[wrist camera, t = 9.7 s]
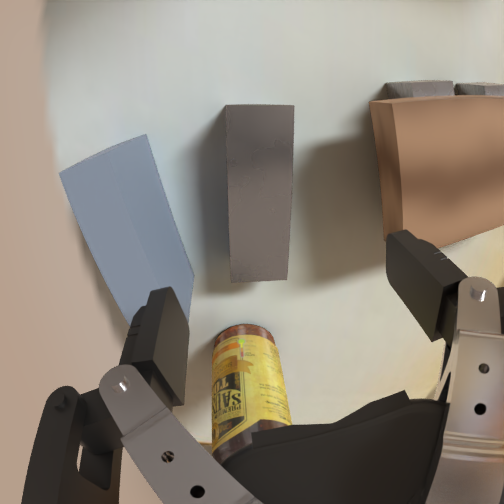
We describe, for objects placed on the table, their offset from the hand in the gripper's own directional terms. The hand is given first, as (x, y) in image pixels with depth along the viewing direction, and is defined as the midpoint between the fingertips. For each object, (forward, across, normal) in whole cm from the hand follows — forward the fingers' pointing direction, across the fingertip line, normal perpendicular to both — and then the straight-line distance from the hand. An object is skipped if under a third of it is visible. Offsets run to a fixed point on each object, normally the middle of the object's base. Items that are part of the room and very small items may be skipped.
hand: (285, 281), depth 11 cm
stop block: (+13, +8, 0) cm, 15 cm away
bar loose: (+13, 0, 0) cm, 13 cm away
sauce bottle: (+13, +4, +15) cm, 21 cm away
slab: (+9, -17, 0) cm, 20 cm away
